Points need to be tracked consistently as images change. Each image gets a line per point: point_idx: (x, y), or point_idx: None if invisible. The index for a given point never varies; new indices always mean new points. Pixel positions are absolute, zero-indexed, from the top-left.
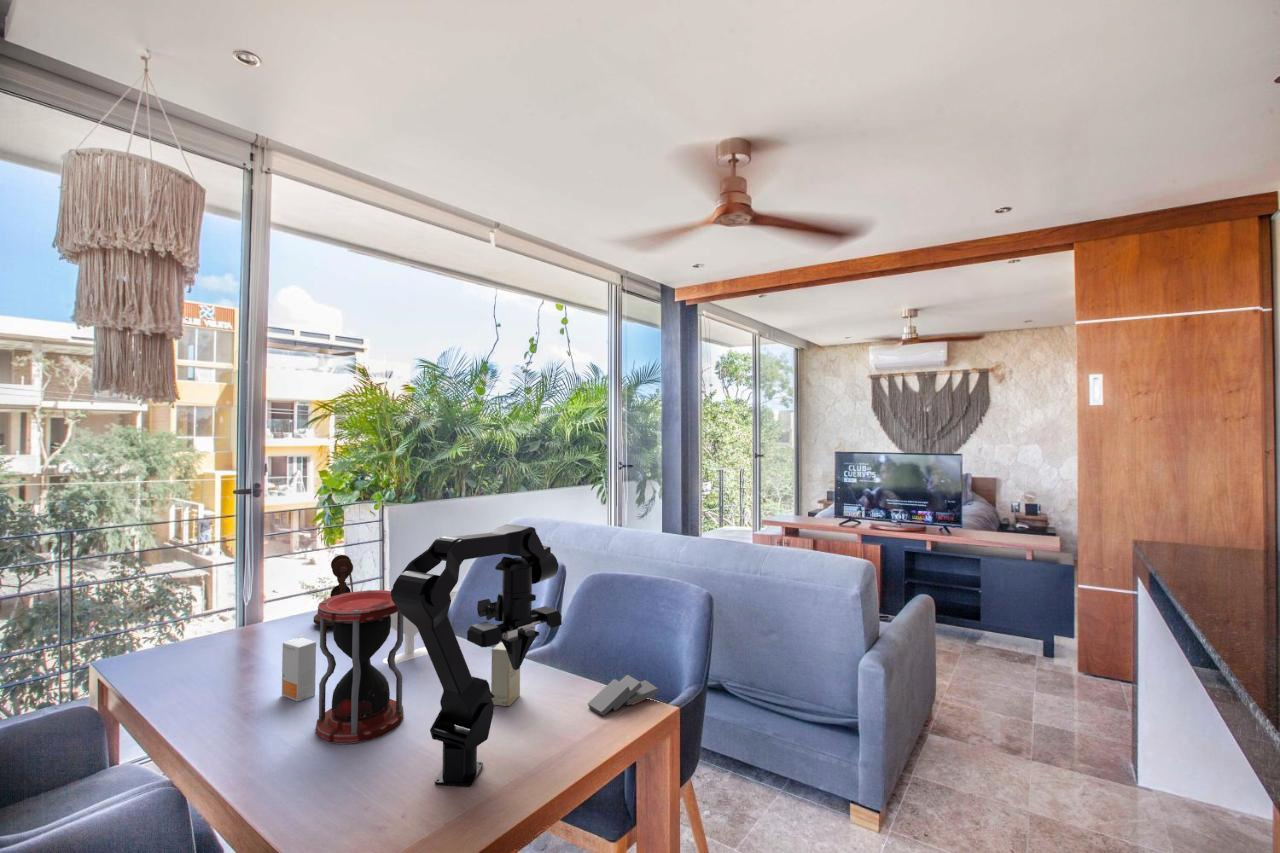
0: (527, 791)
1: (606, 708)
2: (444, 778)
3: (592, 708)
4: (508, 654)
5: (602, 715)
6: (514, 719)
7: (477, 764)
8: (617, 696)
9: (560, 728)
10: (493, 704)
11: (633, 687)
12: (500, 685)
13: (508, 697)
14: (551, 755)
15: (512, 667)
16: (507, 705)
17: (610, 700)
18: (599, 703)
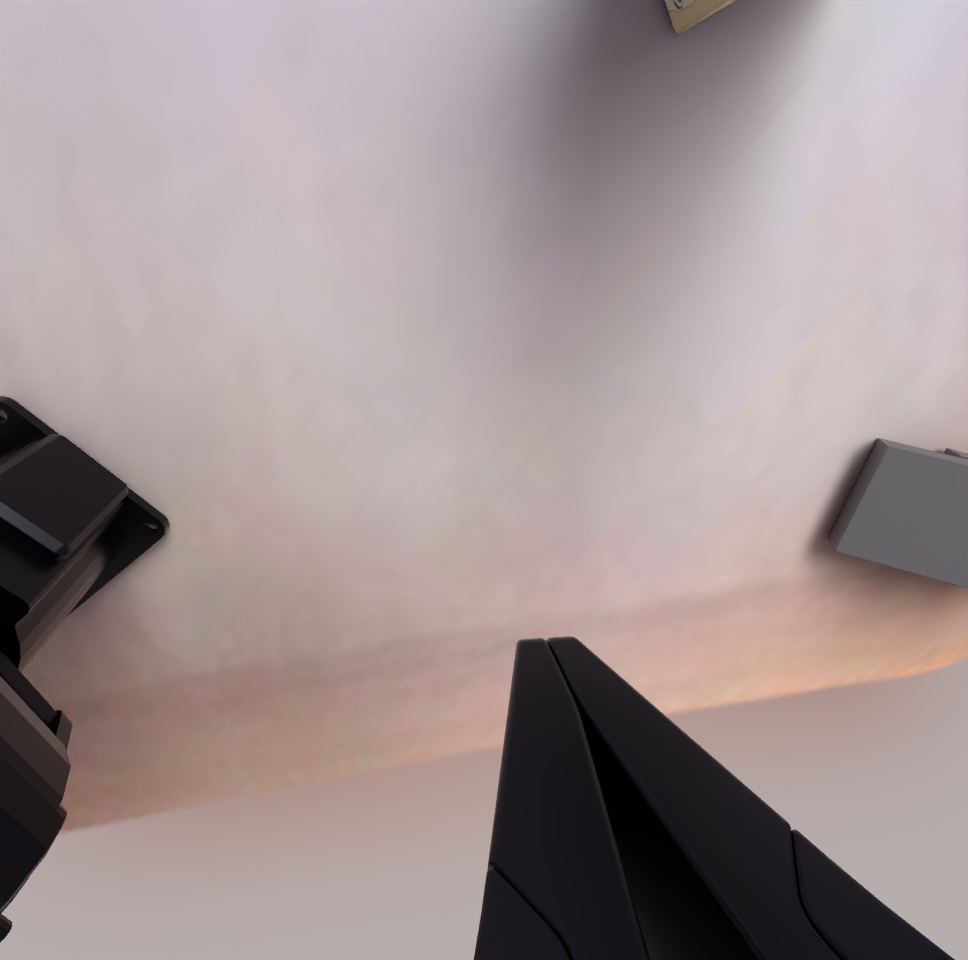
0: (246, 739)
1: (867, 557)
2: None
3: (866, 473)
4: (492, 855)
5: (829, 540)
6: (573, 234)
7: (133, 527)
8: (956, 583)
9: (644, 493)
10: (35, 867)
11: None
12: None
13: (707, 9)
14: (459, 628)
15: (517, 650)
16: (672, 23)
17: (922, 561)
18: (894, 513)
